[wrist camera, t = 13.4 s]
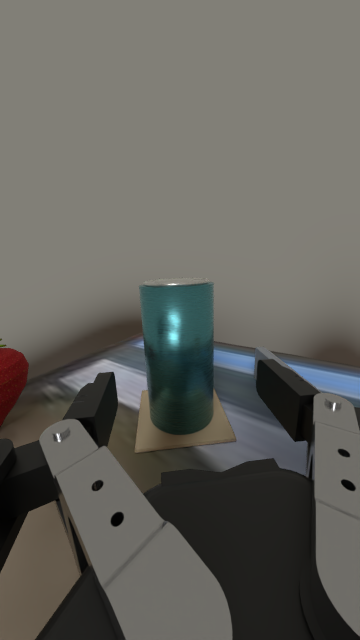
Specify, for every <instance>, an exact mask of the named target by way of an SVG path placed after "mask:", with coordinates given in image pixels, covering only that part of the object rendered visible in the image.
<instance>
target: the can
mask: <svg viewBox="0 0 360 640" xmlns="http://www.w3.org/2000/svg"><path fill="white" fill-rule="evenodd" d="M139 289H140V302H141V314H142V326H143V338H144V350H145V362H146V374H147V386H148V397H149V409H150V418H151V421H152V423H153V424H154V425H155V426H156V427H157V428H158V429H159V430H161V431H163V432H166V433H169V434H174V435H187V434H192V433H195V432H198V431H200V430H202V429H204V428H205V427H206V426H207V425H208V424H209V423H210V422H211V420H212V418H213V282H208V279H205V278H174V279H159V280H149V281H144V284H143V285H140V286H139Z"/></svg>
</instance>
